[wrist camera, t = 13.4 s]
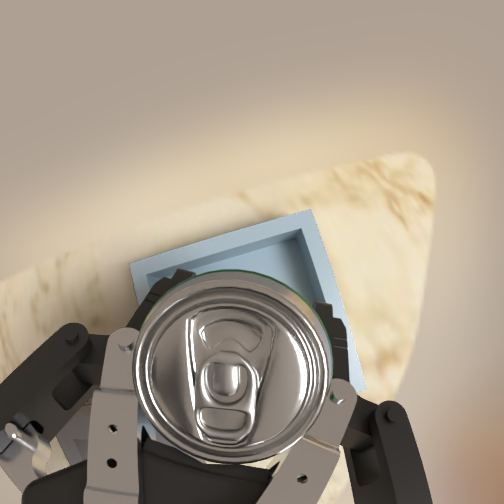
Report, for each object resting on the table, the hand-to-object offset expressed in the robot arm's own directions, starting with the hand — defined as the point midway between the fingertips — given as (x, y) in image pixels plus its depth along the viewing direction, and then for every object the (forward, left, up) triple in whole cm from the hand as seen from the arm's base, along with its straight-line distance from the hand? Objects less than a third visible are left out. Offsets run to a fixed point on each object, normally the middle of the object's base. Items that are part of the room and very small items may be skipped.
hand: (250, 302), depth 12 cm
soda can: (-1, -2, -6) cm, 6 cm away
